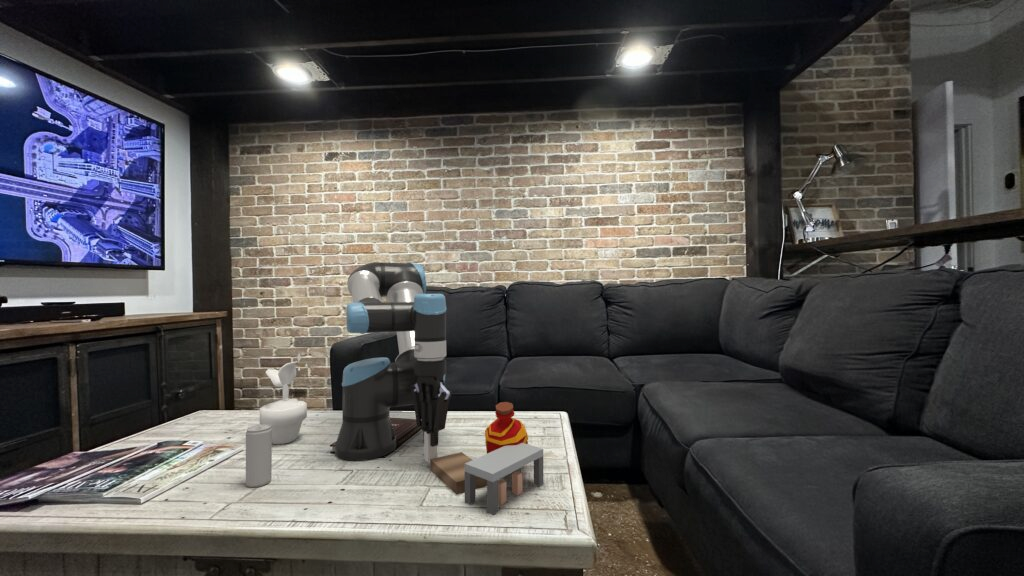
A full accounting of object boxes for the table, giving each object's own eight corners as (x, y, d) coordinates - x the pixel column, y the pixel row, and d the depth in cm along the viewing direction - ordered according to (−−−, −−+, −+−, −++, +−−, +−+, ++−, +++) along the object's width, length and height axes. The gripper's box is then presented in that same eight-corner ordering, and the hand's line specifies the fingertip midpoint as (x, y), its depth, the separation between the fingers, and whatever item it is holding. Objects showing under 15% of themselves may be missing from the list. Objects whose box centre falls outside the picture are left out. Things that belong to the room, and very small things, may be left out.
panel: (430, 472, 96) (430, 459, 96) (461, 464, 100) (461, 451, 100) (456, 497, 84) (456, 482, 84) (490, 486, 89) (490, 472, 89)
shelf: (464, 502, 81) (464, 463, 81) (516, 474, 93) (516, 440, 94) (493, 515, 76) (492, 474, 76) (543, 484, 89) (543, 448, 89)
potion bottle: (525, 482, 91) (522, 421, 87) (480, 476, 93) (475, 416, 90) (534, 452, 101) (531, 396, 97) (493, 447, 103) (489, 393, 100)
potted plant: (315, 438, 118) (315, 350, 118) (273, 451, 108) (273, 355, 108) (290, 430, 124) (290, 347, 125) (249, 442, 115) (249, 351, 115)
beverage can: (244, 490, 87) (244, 432, 87) (246, 481, 91) (247, 425, 91) (271, 485, 89) (271, 428, 89) (272, 476, 93) (272, 422, 93)
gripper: (400, 358, 100) (400, 457, 99) (435, 363, 92) (436, 471, 91) (425, 354, 106) (426, 448, 105) (460, 359, 97) (461, 460, 97)
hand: (430, 458), depth 98 cm, fingers closed
